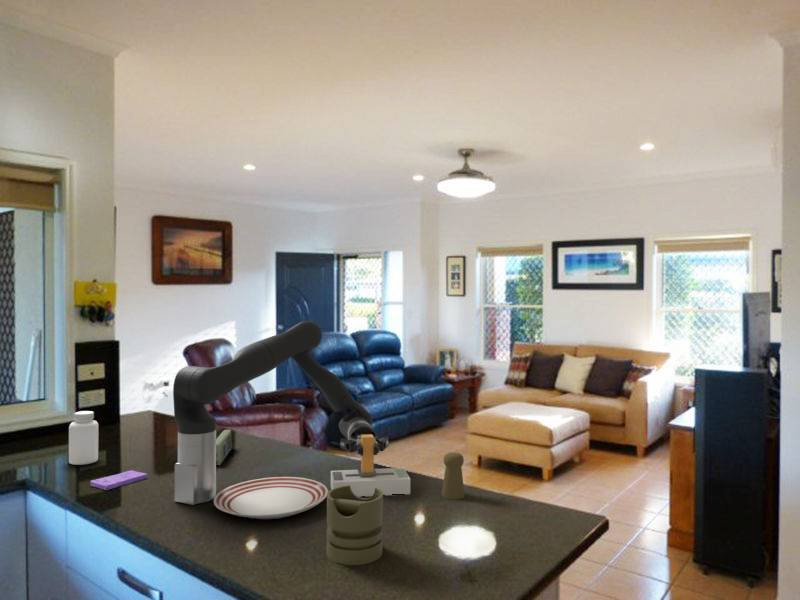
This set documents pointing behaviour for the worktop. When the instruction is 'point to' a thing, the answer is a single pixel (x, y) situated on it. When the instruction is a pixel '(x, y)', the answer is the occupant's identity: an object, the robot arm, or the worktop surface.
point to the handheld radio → (223, 446)
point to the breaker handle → (367, 456)
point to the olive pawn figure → (453, 477)
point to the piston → (354, 526)
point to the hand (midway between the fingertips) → (368, 451)
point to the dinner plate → (271, 497)
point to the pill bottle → (83, 439)
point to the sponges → (118, 480)
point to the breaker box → (373, 481)
